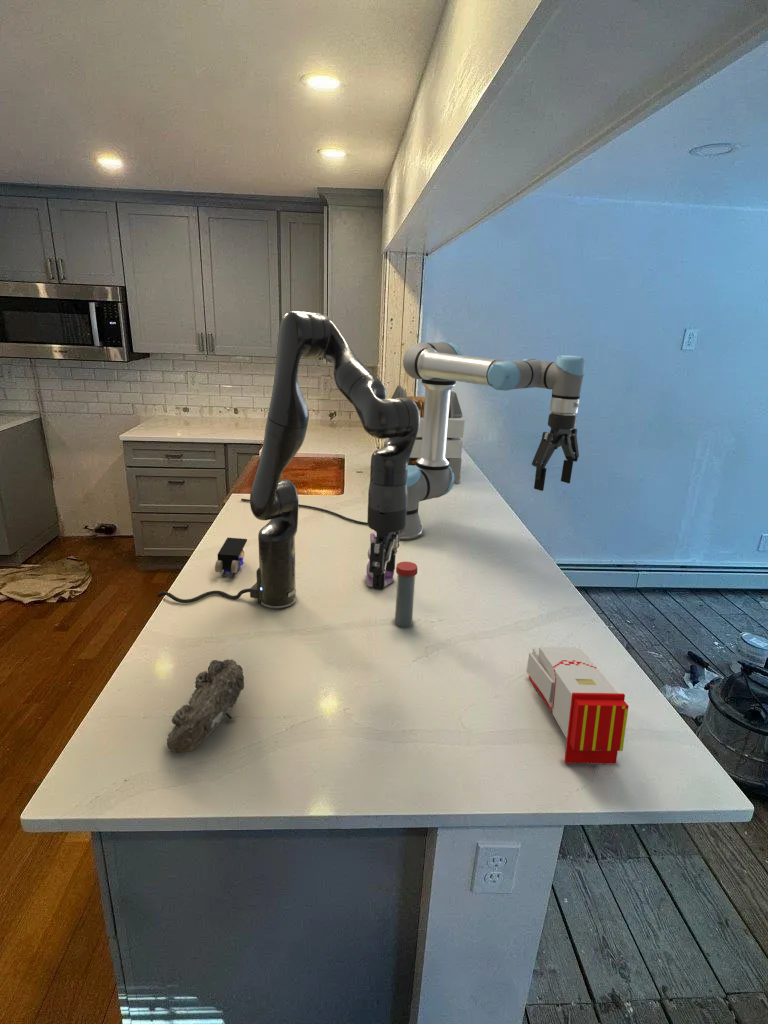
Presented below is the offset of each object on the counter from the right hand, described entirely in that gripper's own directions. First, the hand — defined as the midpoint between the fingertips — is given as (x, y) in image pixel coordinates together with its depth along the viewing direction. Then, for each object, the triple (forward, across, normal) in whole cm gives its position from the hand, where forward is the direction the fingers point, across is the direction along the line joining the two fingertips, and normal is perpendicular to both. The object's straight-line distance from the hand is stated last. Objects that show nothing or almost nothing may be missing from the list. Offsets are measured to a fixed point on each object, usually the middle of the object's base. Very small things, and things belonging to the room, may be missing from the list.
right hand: (552, 485), depth 166 cm
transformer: (+28, +46, +101) cm, 115 cm away
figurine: (+28, -44, +24) cm, 58 cm away
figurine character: (+28, -75, +56) cm, 97 cm away
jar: (+28, -54, +3) cm, 61 cm away
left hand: (+5, -73, -10) cm, 74 cm away
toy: (+28, -51, -42) cm, 72 cm away
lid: (+12, -54, +3) cm, 56 cm away
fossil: (+28, -107, 0) cm, 110 cm away
